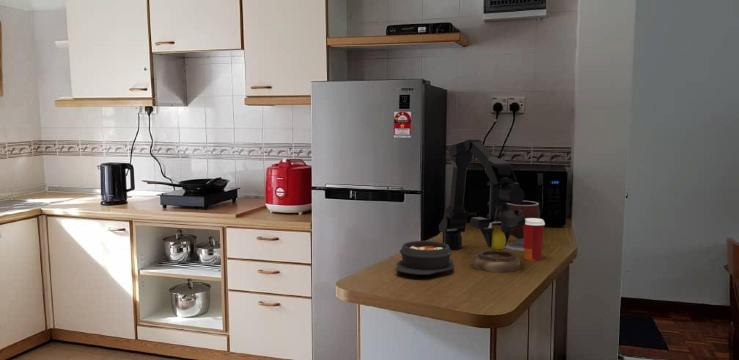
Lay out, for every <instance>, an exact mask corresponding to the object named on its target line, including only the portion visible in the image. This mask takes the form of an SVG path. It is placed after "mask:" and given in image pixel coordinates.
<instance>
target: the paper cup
mask: <svg viewBox="0 0 739 360" xmlns="http://www.w3.org/2000/svg"><path fill="white" fill-rule="evenodd" d="M545 225H546V223H545V220H544V219H542V218H540V219H537V218H526V223H525V225H523V227H524V238H523V239H524V251H523V255H524V256H523V257H524V258H523V259H524V260H526V261H528V262H529V261H530V262H531V261H532V262H539V261H541V259H542V252H543V244H544V243H543V242H544V234H545V233H544V232H545Z"/></svg>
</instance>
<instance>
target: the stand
mask: <svg viewBox="0 0 739 360" xmlns="http://www.w3.org/2000/svg"><path fill="white" fill-rule="evenodd" d="M520 264H521V259H520V256H519V257H518V256H517V255H516V254H515V253H514V252H512V251H511V252H510V251H505V250H502V249H501V250H499V251H498V252H496V251H495V250H494V249H489V250H487V249H485V250H482V251H479V252H477V254H475V255H473V267H474V268H475V269H477V270H479V271H480V270H481V271H485V272H491V273H513V272H516V271H518V270H520V268H521V265H520Z"/></svg>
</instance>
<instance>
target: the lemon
mask: <svg viewBox="0 0 739 360" xmlns="http://www.w3.org/2000/svg"><path fill="white" fill-rule="evenodd" d="M505 244H506V237H505V234H504V232H503V231H501V229H499V228H495V229H494V230H493V232H492V245H491V248H490V249H491V250H495V251H496V252H498V251H499V250H501V251H502V250H503V249H505V248H504V246H505Z"/></svg>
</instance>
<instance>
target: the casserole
mask: <svg viewBox="0 0 739 360" xmlns="http://www.w3.org/2000/svg"><path fill="white" fill-rule="evenodd" d="M399 253H400V254H401V258H402V259H401V260H398V262H397V263H396V266H397V267H396V269H395V270H396V271H398V272H399V273H403V274H407V275H416V276H430V275H437V274H441V273H444V272H448V271H450V270H453V269H454V268H455V264H454V260H453V259H452V258H451V256H452V254H453V250H451V249H450V247H449V245H447V244H445V243H442V242H440V241H434V240H415V241H413V240H412V241H408V242H405V243H403V245H402V247H401V248H400V250H399Z"/></svg>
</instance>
